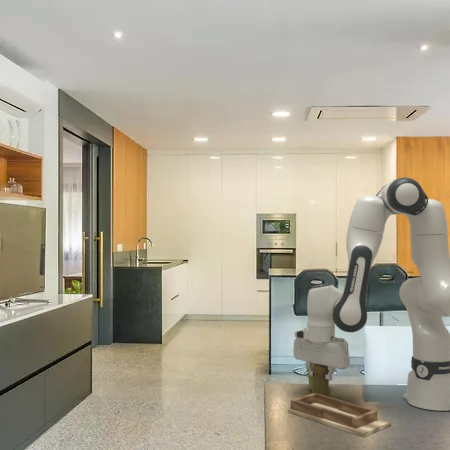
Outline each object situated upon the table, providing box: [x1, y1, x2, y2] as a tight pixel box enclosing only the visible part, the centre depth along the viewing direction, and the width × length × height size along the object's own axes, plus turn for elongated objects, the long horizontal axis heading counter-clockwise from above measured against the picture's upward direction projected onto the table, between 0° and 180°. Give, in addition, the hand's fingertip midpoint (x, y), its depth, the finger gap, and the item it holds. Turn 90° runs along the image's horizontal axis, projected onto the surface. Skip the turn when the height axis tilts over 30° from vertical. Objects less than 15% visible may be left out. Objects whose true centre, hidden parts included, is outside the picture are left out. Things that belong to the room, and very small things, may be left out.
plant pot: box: [304, 362, 330, 391], centre depth 185 cm, size 9×9×9 cm
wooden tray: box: [287, 393, 392, 438], centre depth 155 cm, size 13×26×4 cm, turn 42°
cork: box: [311, 364, 331, 397], centre depth 174 cm, size 6×6×11 cm
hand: (320, 377), depth 174 cm, fingers open, 5 cm apart
